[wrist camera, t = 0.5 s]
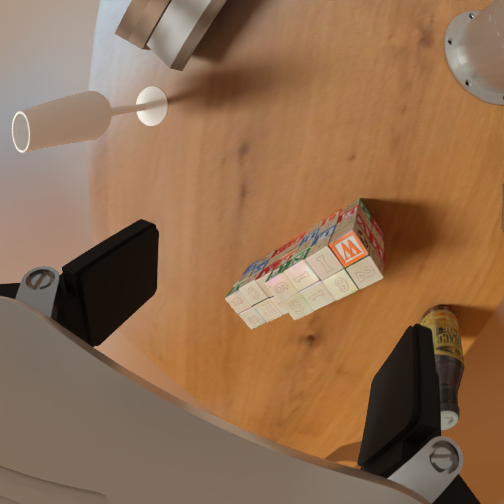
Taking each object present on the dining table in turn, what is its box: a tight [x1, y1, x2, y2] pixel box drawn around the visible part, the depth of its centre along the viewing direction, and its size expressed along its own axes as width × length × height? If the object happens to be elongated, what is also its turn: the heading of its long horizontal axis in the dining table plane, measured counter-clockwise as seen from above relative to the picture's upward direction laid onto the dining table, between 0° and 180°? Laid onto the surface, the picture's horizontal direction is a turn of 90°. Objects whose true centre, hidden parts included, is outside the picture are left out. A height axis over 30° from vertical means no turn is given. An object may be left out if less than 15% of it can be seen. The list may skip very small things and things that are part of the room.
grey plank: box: [147, 0, 227, 71], centre depth 32 cm, size 18×10×2 cm, turn 144°
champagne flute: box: [12, 87, 168, 153], centre depth 35 cm, size 7×7×24 cm
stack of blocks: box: [225, 198, 385, 329], centre depth 41 cm, size 21×6×12 cm, turn 129°
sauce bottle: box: [421, 306, 464, 430], centre depth 34 cm, size 7×6×20 cm
